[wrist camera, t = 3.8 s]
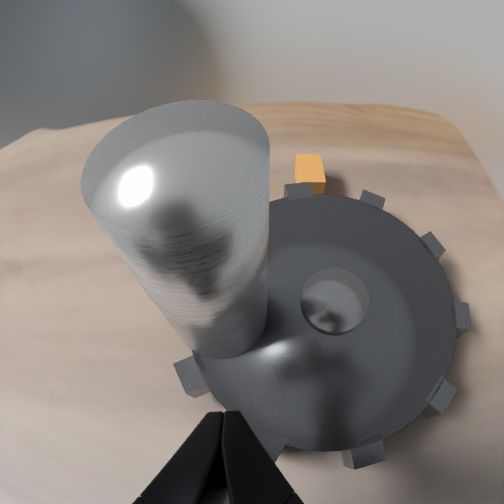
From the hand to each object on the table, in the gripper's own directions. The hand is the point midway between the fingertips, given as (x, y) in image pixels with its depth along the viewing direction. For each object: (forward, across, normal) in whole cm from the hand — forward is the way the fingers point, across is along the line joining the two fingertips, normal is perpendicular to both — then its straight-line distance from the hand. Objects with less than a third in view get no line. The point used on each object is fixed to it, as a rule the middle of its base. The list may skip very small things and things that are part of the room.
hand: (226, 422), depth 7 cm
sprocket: (+8, -5, +2) cm, 10 cm away
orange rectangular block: (+15, -6, -5) cm, 17 cm away
